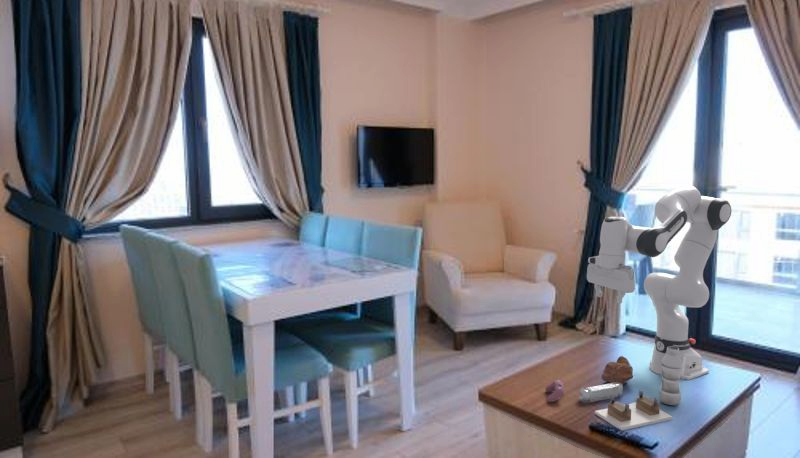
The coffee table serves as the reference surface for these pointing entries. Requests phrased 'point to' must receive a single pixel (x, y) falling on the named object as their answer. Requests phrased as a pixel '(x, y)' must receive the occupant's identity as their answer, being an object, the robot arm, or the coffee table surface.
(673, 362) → the plastic bottle
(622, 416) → the spanner rack
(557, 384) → the video game controller
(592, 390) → the grey long cylinder
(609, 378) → the stone
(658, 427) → the coffee table surface
